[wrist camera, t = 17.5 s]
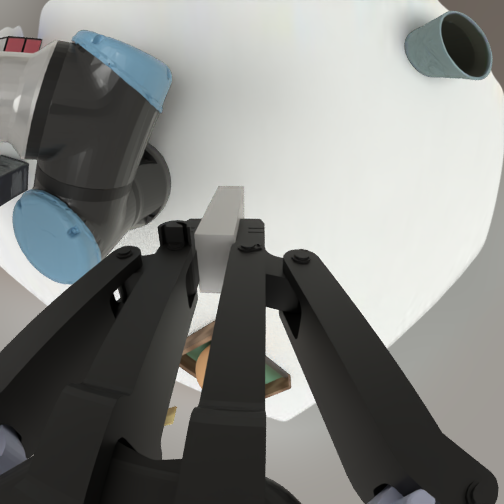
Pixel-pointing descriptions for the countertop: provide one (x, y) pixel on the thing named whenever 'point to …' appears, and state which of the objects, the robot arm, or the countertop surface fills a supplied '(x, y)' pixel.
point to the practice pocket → (202, 338)
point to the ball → (202, 365)
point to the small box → (12, 178)
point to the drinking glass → (450, 48)
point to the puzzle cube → (19, 44)
